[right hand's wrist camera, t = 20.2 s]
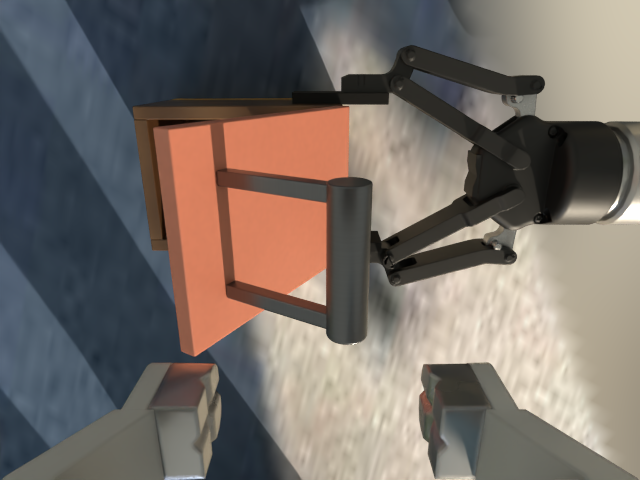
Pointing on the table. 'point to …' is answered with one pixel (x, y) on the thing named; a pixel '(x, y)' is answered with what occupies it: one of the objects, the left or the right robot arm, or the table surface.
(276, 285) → the lid
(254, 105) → the chest
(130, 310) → the table surface
